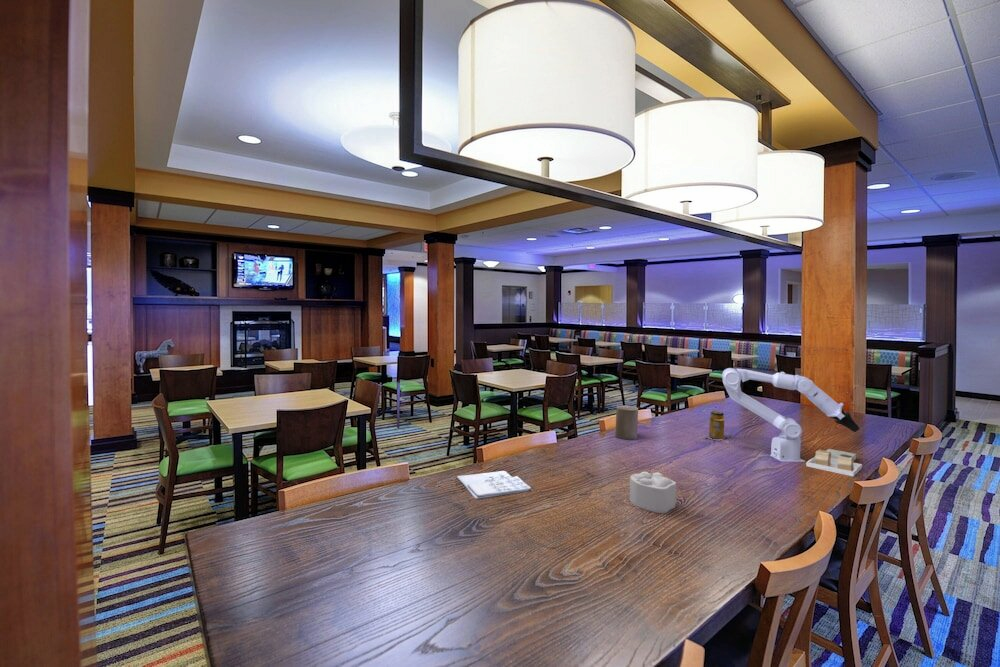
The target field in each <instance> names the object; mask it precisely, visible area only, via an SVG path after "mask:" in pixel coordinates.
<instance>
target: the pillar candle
mask: <svg viewBox="0 0 1000 667" xmlns="http://www.w3.org/2000/svg"><path fill="white" fill-rule="evenodd" d="M615 415H616V416H615V437H616V438H618V439H620V440H625V441H626V440H629V441H632V440H637V439H638V429H639V428H638V424H639V407H636V406H632V405H617V406H616V414H615Z"/></svg>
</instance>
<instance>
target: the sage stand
mask: <svg viewBox="0 0 1000 667" xmlns="http://www.w3.org/2000/svg"><path fill="white" fill-rule="evenodd" d="M825 451H829V452H831V458H833V459H838V456H839V455H840V454H844V455H849V456H854V461H855V460H856V459H857V453H854V452H847V451H843V450H838V449H837V450H836V449H832V448H828V449H827V450H825Z"/></svg>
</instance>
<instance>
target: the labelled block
mask: <svg viewBox="0 0 1000 667" xmlns="http://www.w3.org/2000/svg"><path fill="white" fill-rule="evenodd" d="M854 463H855V460H854V456H849V455H844V454H840V455H839V456H838V467H837V468H838V469H842V470H847V471H853V468H854Z"/></svg>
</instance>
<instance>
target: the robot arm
mask: <svg viewBox="0 0 1000 667" xmlns="http://www.w3.org/2000/svg"><path fill="white" fill-rule="evenodd" d="M721 378H722V379H721V380H722V383H723V386H724V388H725V391H726V392H727V394H728V396H729V398H730V399H731V400H733V401H734V402H736V403H737V404H738V405H741V406H742V407H744V408H745V409H747V410H748V411H750V412H752V413H754V414H755V415H756V416H759V417H760V418H761V419H763V420H765V421H766V422H768V423H770V424H772V425H773V426H774V427H775V428H777V429H779V430H780V431H781V432H780V433H779V435H778V436H773V437H772V438H771V439H772V440H771V442H770V443H771V448H770V454H769V456H770V457H772V458H774V459H775V460H778V461H779V462H784V463H786V462H789V463H790V462H792V463H793V462H801V463H802V462H806V460H805V459H802V458H801V449H802V447H801V445H802V443H801V442H802V437H801V436H802V433H803V429H802V427H801V425H800V424H799V423H798V422H797V420H795V419H793V418H792V417H786V416H784V415H782V414H780V413H778V412H776V411H775V410H774V409H772V408H769V407H768V406H767V405H765V404H763V403H761V402H759V401H758V400H756V399H755V398H753V397H751V396H750V395H748V394H746V393H745V392H743V391H742V387H741V381H742V383H744V382H747V381H749V380H752V381H757V382H765V383H770V384H772V385H773V387H775V388H780V389H786V390H789V391H795V390H796V391H798V392H799V393H800V394H801V393H802V394H803V395H804V396H806V398H807V399H808V400H809V401H810V402H811V403H813V404H814V405H815V406H816V407H817V408H818V409H819V410H821V412H823V414H825V415H826V417H828V418H830V419H833V420H834V422H835V423H836V424H838V425H841V426H843V427H845V428H847V429H849V430H850V431H852V432H853V433H856V432H857V431H859V430H860V429H861V428H860V427H859V425H858V424H857V423H856V422H855V420H854V419H853V418H852V416H851V414H850V412H849V411H846V413H845V411H844V409H843V406H844V403H843V402H840V403H838V402H837V401H836V400H834V399H833V398H832V397H831V396H830V395H829V394H827V393H826V392H825V391H824V390H822V388H820V387H818V386H817V385H816V384H815V383H814V381H813V380H811V379H810V378H808V377H805V376H803V375H799V374H795V375H793V374H789V373H786V372H784V371H780V372H776V373H774V374H770V373H765V372H760V371H755V370H750V369H745V368H743V369H742V368H733V367H728V368H725V369H724V370H723V371H722V375H721Z"/></svg>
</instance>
